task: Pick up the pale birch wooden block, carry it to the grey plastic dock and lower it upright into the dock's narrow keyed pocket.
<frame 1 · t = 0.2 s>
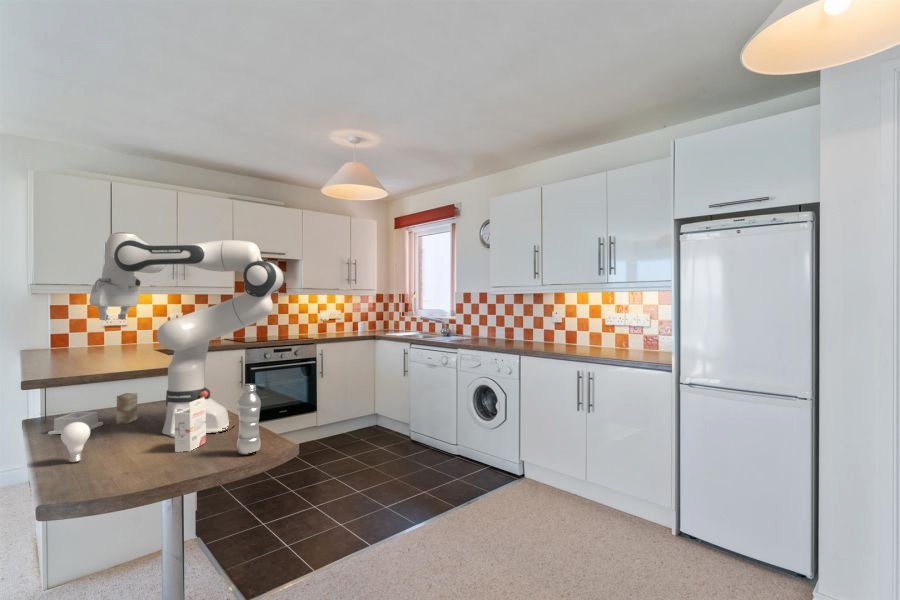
hand: (112, 319, 156), 38 cm above the table, tool pointing down, fingers open, 8 cm apart
ink cartridge box: (190, 448, 138), on the table
birch peg block: (127, 421, 170), on the table
cartridge dock: (76, 429, 159), on the table
lightbulb: (75, 462, 126), on the table
plastic bottle: (248, 454, 133), on the table
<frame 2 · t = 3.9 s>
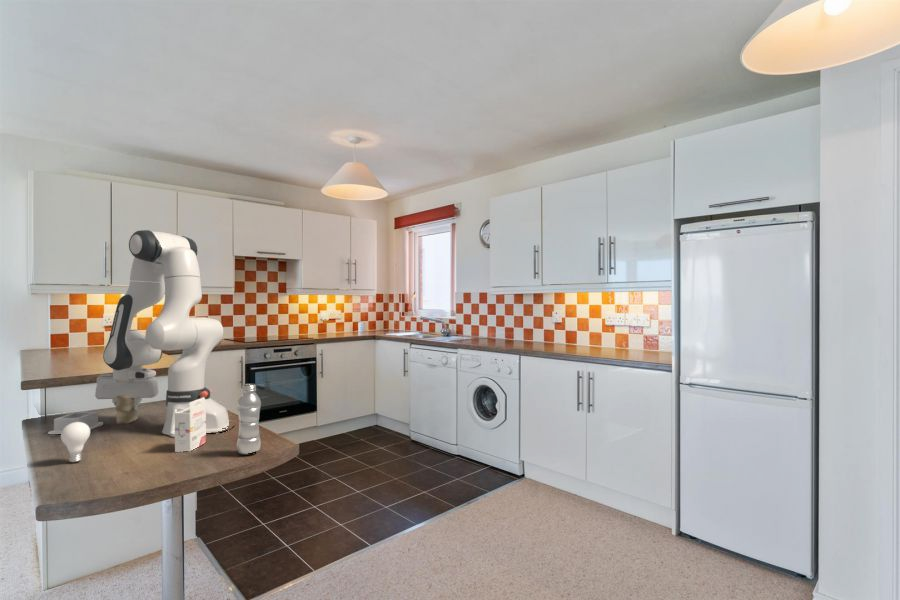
hand: (127, 410, 170), 4 cm above the table, tool pointing down, fingers closed on birch peg block, 4 cm apart
birch peg block: (127, 421, 170), on the table, touching gripper
everything else where it was.
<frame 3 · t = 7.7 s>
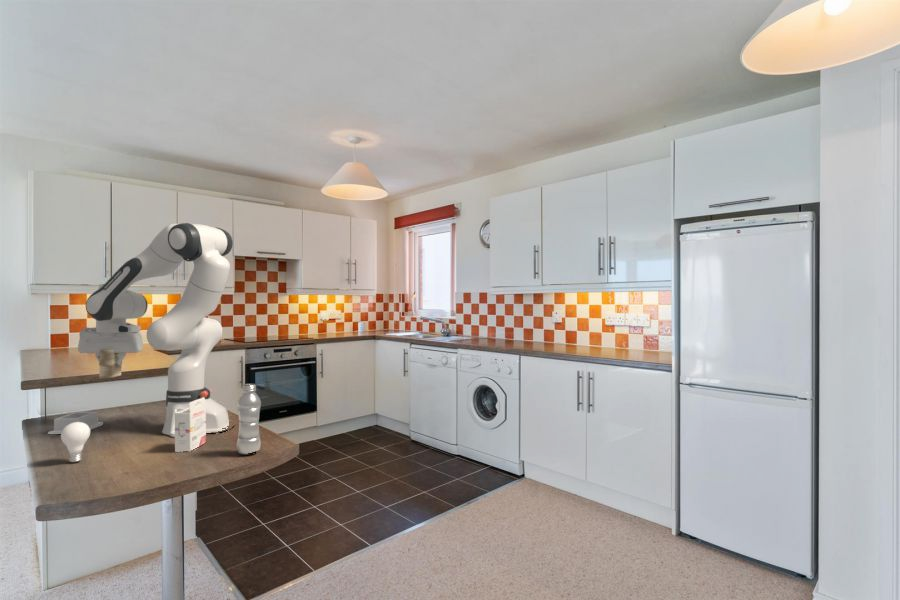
hand: (110, 365, 167), 21 cm above the table, tool pointing down, fingers closed on birch peg block, 4 cm apart
birch peg block: (110, 376, 167), point 17 cm above the table, touching gripper
everything else where it was.
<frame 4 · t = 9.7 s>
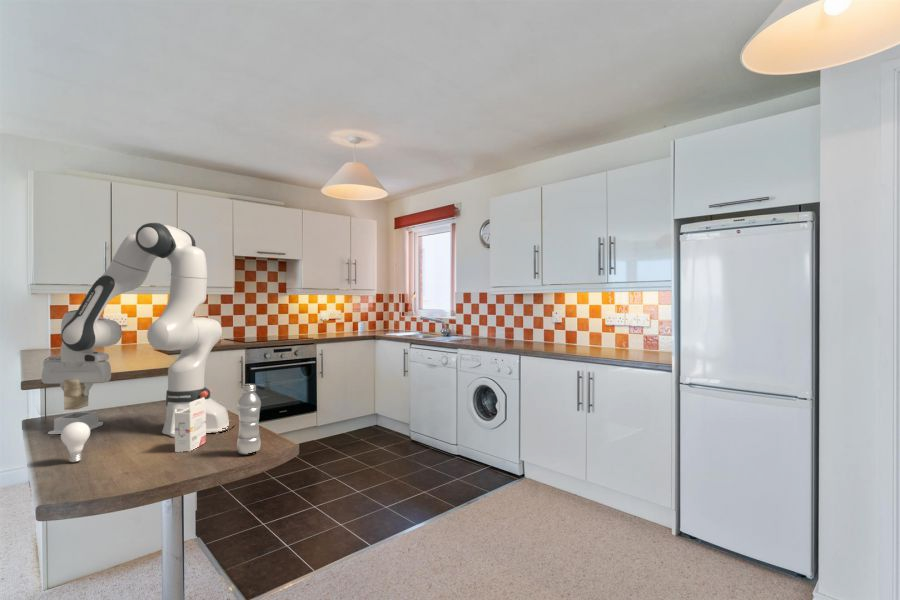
hand: (76, 395, 159), 12 cm above the table, tool pointing down, fingers closed on birch peg block, 4 cm apart
birch peg block: (76, 407, 159), point 8 cm above the table, touching gripper
everything else where it was.
when the fingers open (7 cm above the table, at t = 11.6 s): birch peg block drops 1 cm, resting on cartridge dock.
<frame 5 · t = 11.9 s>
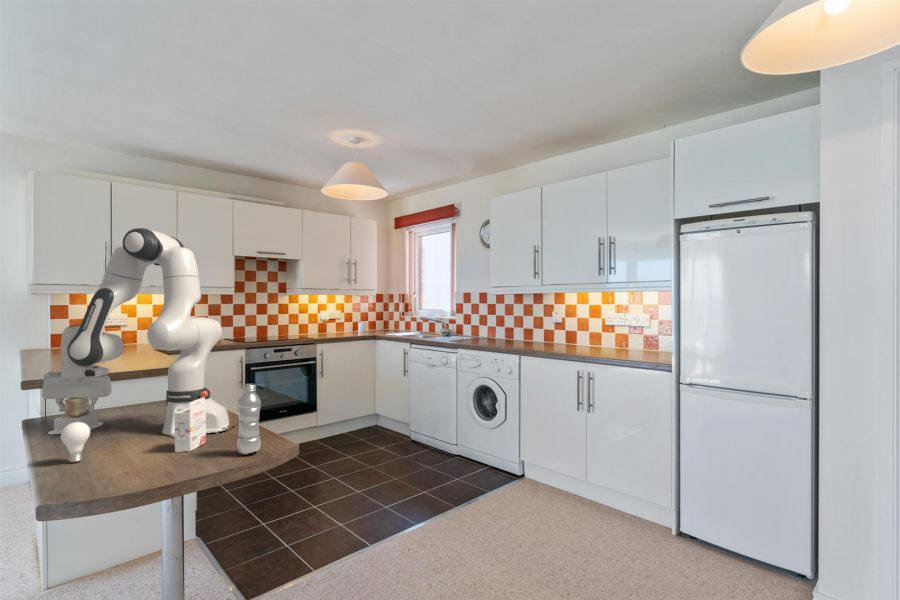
hand: (76, 410, 159), 7 cm above the table, tool pointing down, fingers open, 7 cm apart
birch peg block: (76, 426, 159), point 1 cm above the table, touching cartridge dock
everything else where it was.
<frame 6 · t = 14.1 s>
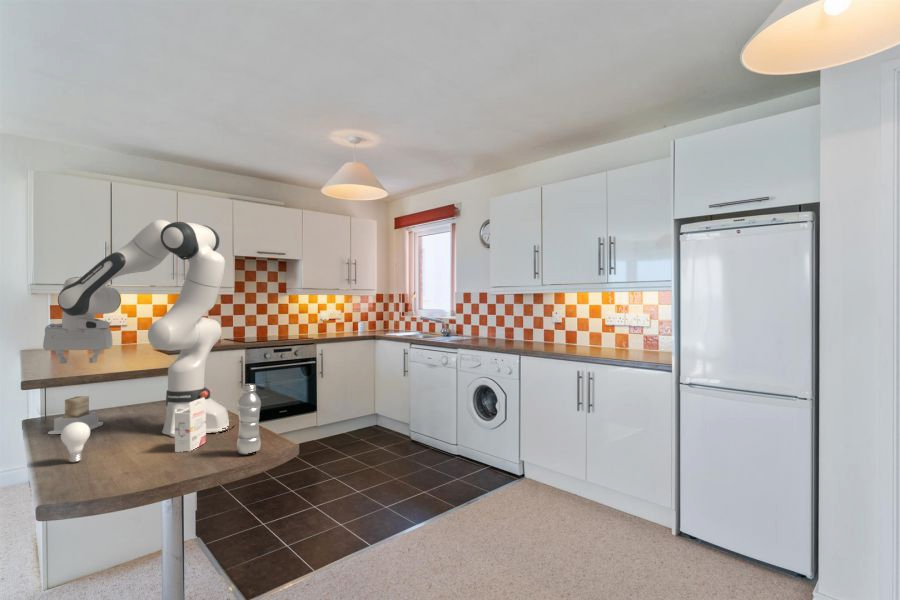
hand: (78, 363, 159), 23 cm above the table, tool pointing down, fingers open, 8 cm apart
nothing on the table moved.
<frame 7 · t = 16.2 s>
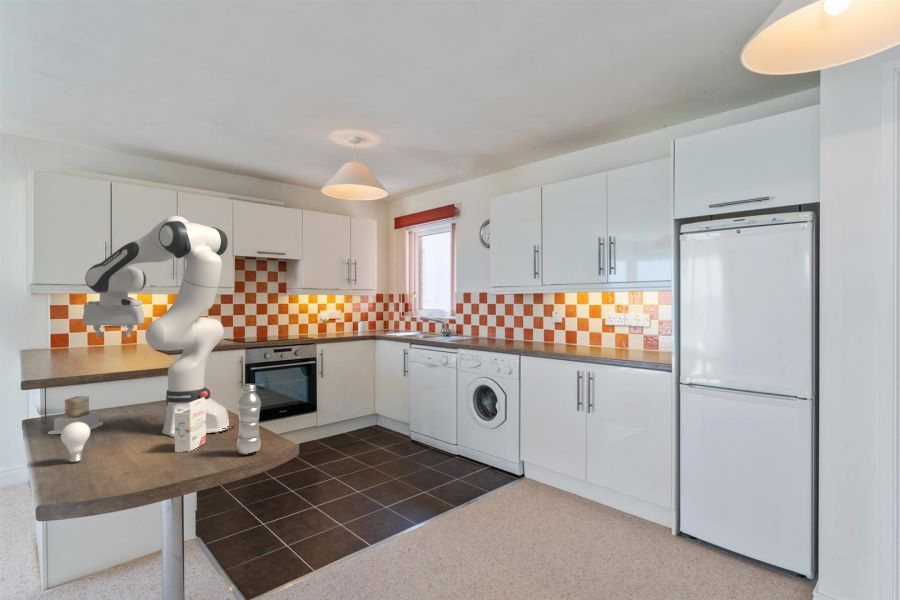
hand: (113, 337, 175), 31 cm above the table, tool pointing down, fingers open, 8 cm apart
nothing on the table moved.
at the end: birch peg block 0.1 cm off-centre on the cartridge dock, point 1.0 cm above the cartridge dock's base; birch peg block tilted 0°; the gripper is holding nothing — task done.
